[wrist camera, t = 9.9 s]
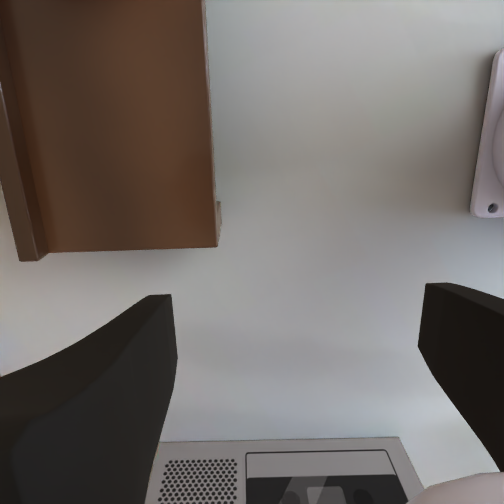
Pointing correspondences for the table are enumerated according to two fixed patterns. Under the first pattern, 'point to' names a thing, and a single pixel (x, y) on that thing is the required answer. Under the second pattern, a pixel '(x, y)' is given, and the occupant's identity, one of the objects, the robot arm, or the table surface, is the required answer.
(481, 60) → the table surface
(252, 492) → the cassette player
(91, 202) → the shelf
